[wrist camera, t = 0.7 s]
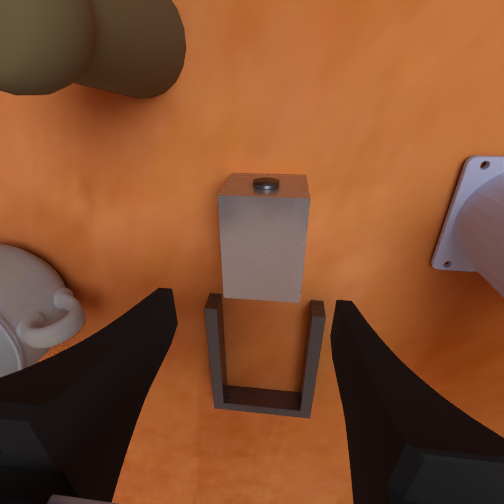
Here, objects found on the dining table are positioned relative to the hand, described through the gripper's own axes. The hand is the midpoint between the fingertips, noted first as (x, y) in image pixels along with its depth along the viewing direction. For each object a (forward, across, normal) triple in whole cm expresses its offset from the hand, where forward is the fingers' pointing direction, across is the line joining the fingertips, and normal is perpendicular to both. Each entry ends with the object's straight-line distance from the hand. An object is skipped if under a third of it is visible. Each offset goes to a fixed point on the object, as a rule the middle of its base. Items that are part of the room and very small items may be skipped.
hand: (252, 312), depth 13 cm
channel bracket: (+10, 0, +13) cm, 17 cm away
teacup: (+10, +20, +7) cm, 24 cm away
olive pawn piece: (+10, +8, -11) cm, 17 cm away
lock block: (+10, 0, 0) cm, 10 cm away
